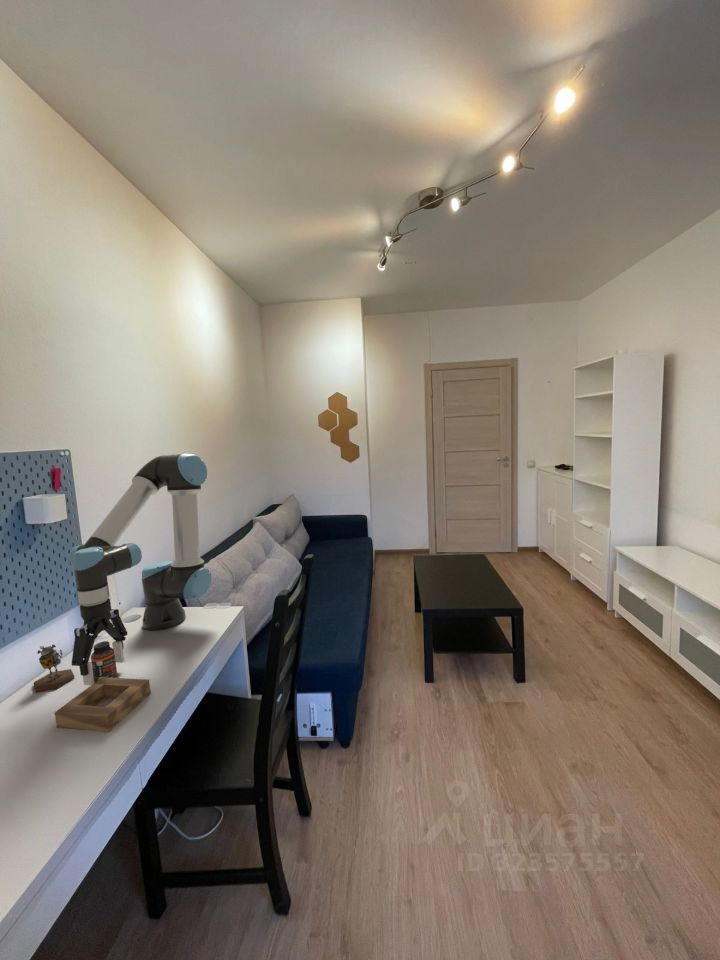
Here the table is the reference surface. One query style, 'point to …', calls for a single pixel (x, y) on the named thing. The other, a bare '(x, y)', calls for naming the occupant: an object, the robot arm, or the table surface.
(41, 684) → the robot figurine
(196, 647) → the table surface
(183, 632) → the table surface
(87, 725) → the socket block
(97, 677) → the supplement bottle
